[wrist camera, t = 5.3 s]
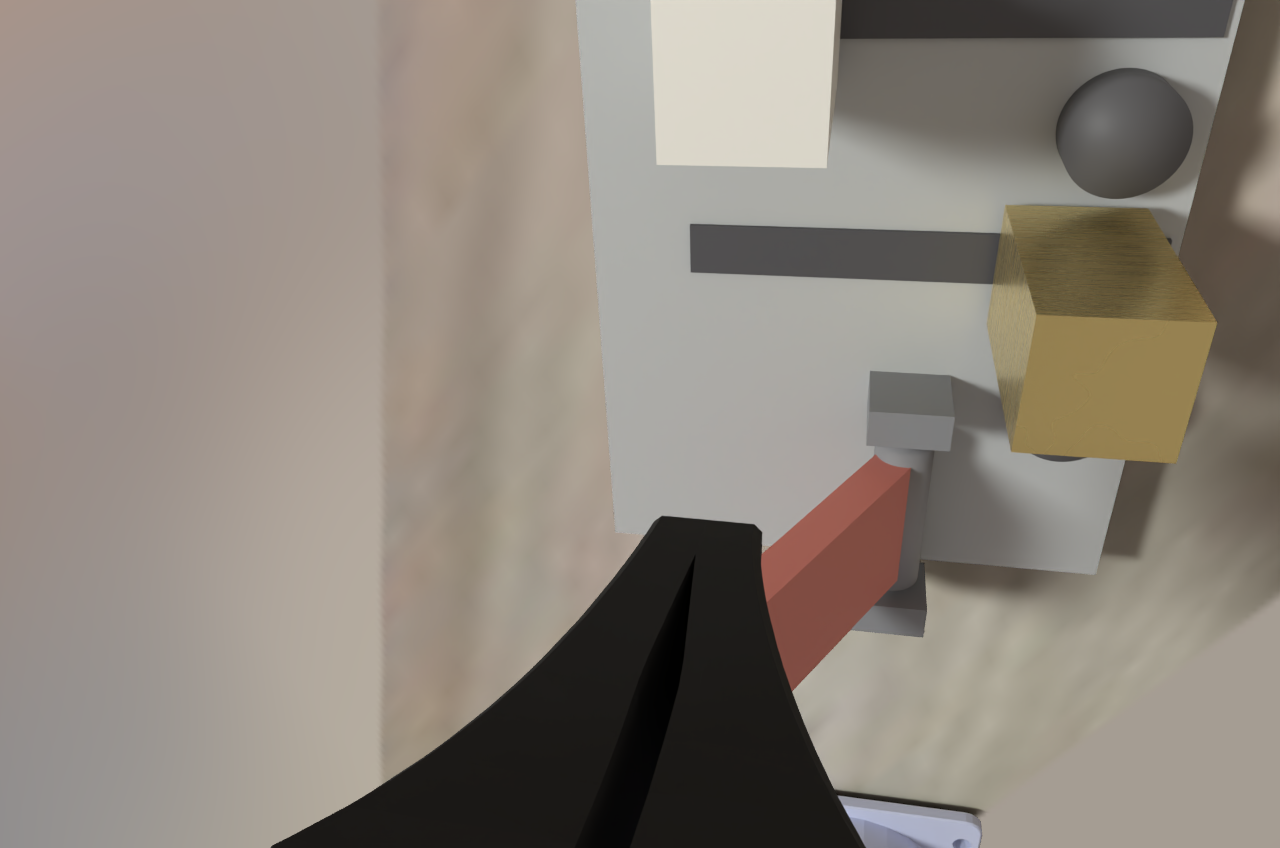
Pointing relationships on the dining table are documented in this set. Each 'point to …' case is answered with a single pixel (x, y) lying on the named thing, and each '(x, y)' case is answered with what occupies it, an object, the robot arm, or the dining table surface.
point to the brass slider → (1095, 334)
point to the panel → (878, 265)
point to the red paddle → (846, 556)
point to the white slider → (745, 81)
